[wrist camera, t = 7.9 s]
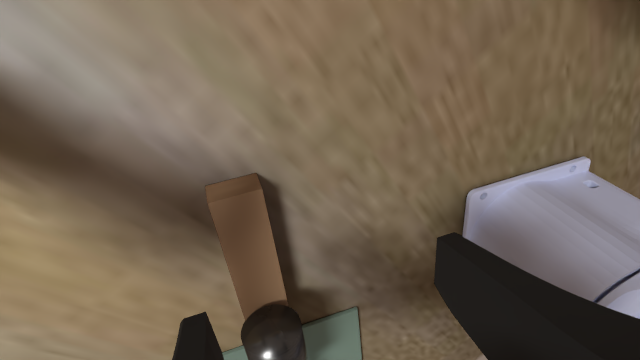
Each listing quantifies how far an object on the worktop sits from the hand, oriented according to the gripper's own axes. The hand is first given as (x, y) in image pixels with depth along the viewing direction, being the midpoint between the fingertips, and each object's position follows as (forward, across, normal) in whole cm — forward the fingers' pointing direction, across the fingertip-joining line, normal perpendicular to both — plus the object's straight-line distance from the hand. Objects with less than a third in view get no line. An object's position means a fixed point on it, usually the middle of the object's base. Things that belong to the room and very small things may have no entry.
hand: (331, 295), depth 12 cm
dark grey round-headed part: (+9, +2, +14) cm, 17 cm away
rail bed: (+10, +2, +6) cm, 12 cm away
